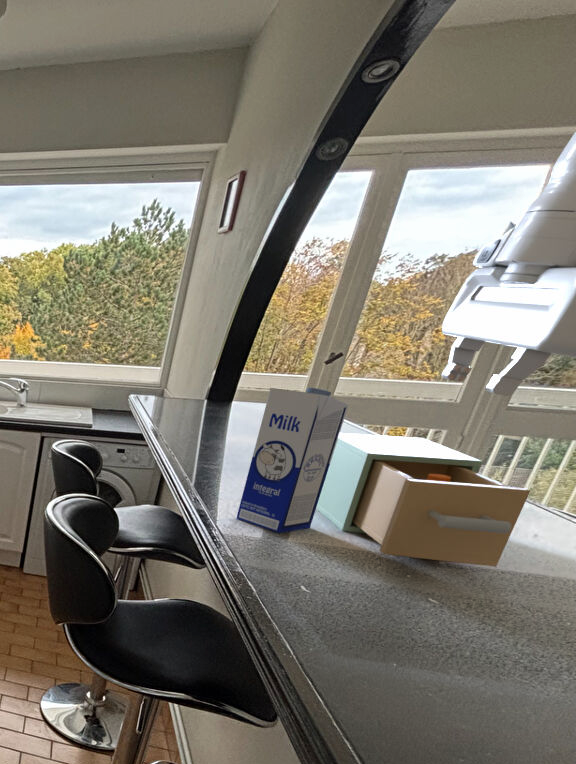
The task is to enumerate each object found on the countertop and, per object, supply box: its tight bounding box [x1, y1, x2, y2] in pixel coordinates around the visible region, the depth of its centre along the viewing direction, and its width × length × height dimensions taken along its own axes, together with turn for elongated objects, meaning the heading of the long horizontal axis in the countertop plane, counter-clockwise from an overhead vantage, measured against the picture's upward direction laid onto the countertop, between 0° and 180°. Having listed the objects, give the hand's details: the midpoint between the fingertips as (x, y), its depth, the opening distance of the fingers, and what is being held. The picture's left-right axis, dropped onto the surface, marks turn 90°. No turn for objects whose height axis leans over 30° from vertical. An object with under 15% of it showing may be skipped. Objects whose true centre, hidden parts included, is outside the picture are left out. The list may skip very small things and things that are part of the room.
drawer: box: [352, 459, 531, 568], centre depth 77 cm, size 19×11×10 cm, turn 160°
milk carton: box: [236, 387, 350, 534], centre depth 85 cm, size 7×7×20 cm
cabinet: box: [316, 432, 483, 534], centre depth 89 cm, size 16×13×12 cm
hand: (472, 386), depth 66 cm, fingers open, 8 cm apart
